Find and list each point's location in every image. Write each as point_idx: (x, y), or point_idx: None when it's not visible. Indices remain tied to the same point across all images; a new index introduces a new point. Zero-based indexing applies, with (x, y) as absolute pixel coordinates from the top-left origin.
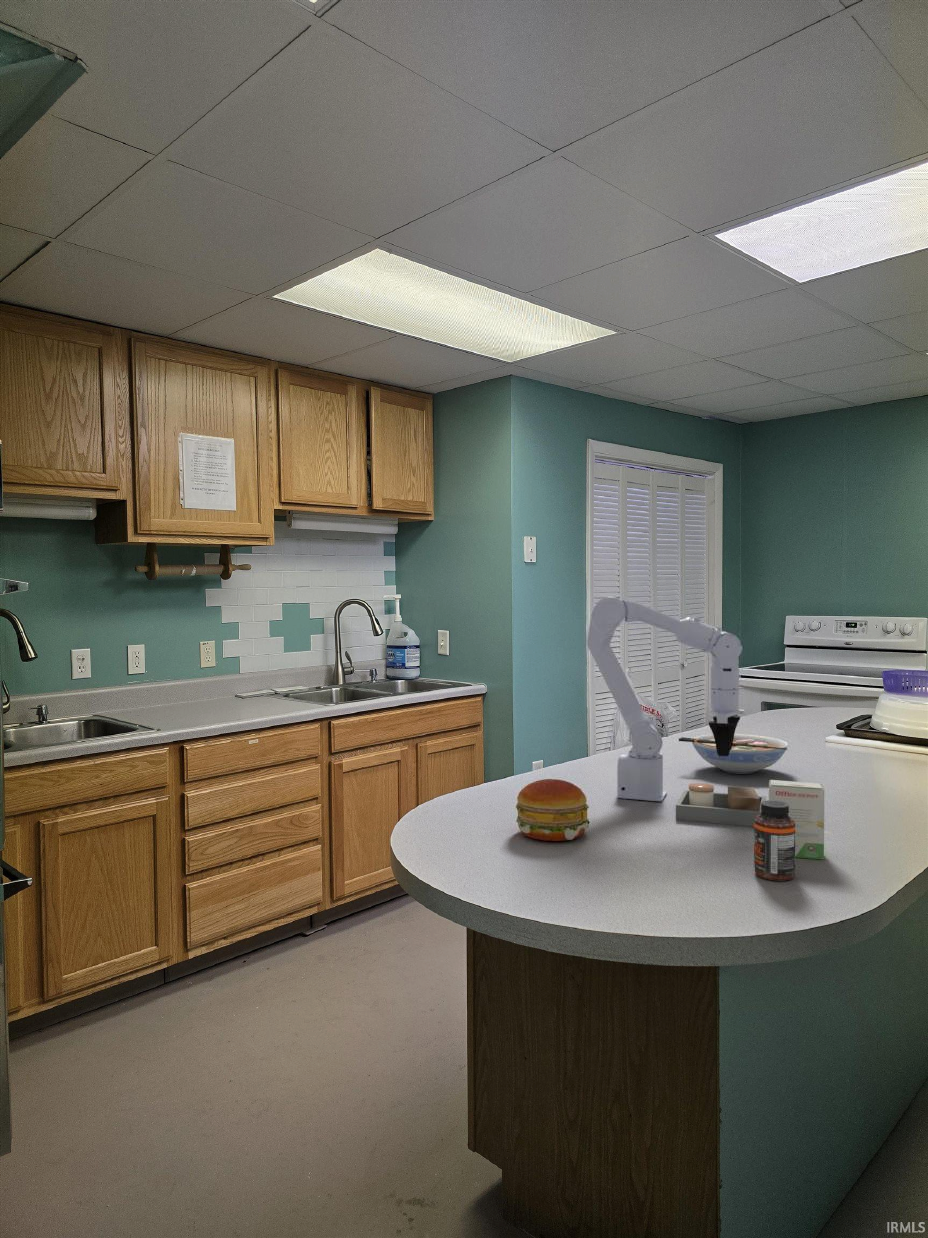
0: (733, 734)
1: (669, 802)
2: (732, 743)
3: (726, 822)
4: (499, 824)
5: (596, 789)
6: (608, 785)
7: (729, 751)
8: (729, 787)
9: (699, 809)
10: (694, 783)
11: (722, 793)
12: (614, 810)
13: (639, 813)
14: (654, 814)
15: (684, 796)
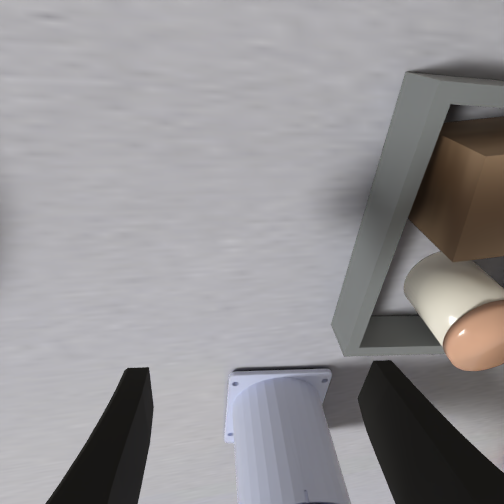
0: (114, 487)
1: (321, 352)
2: (138, 405)
3: None
4: None
5: (231, 468)
6: (182, 462)
7: (411, 383)
8: (469, 256)
9: None
10: (457, 361)
11: (382, 258)
12: None
13: (433, 383)
14: (443, 361)
15: (428, 347)
